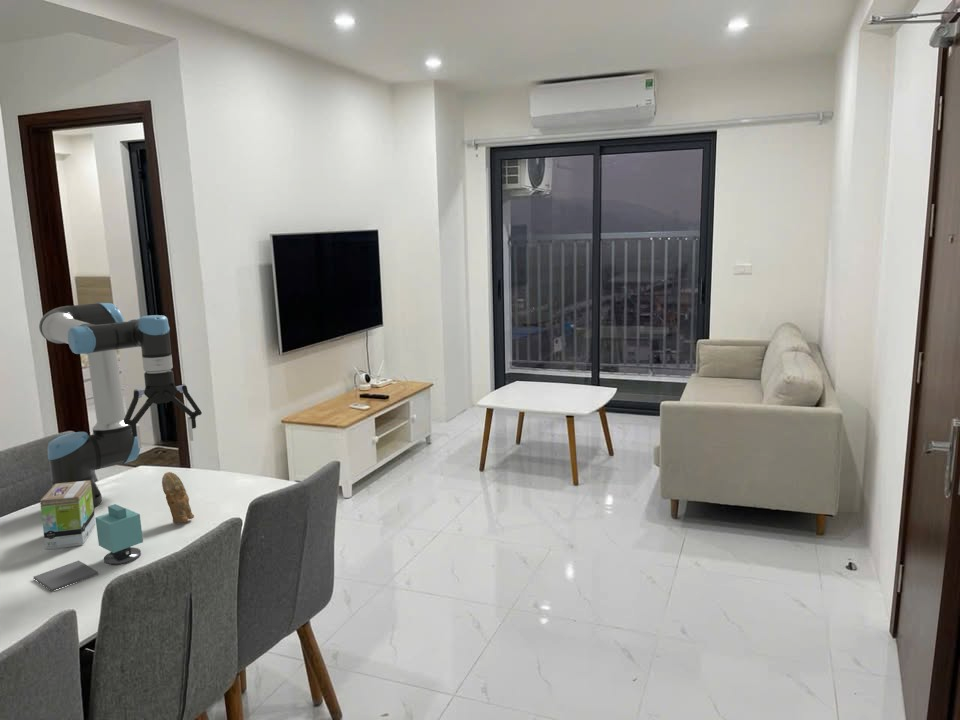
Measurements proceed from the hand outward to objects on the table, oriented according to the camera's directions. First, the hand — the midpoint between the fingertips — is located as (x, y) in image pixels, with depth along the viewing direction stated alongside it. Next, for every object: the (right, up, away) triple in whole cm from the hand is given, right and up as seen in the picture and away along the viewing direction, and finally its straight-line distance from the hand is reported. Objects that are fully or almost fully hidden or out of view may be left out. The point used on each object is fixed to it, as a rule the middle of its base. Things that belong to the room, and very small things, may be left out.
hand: (166, 443), depth 202 cm
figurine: (-1, -25, +14) cm, 29 cm away
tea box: (-29, -28, +3) cm, 40 cm away
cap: (-7, -26, -11) cm, 29 cm away
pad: (-16, -32, -21) cm, 41 cm away
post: (-7, -30, -11) cm, 32 cm away
